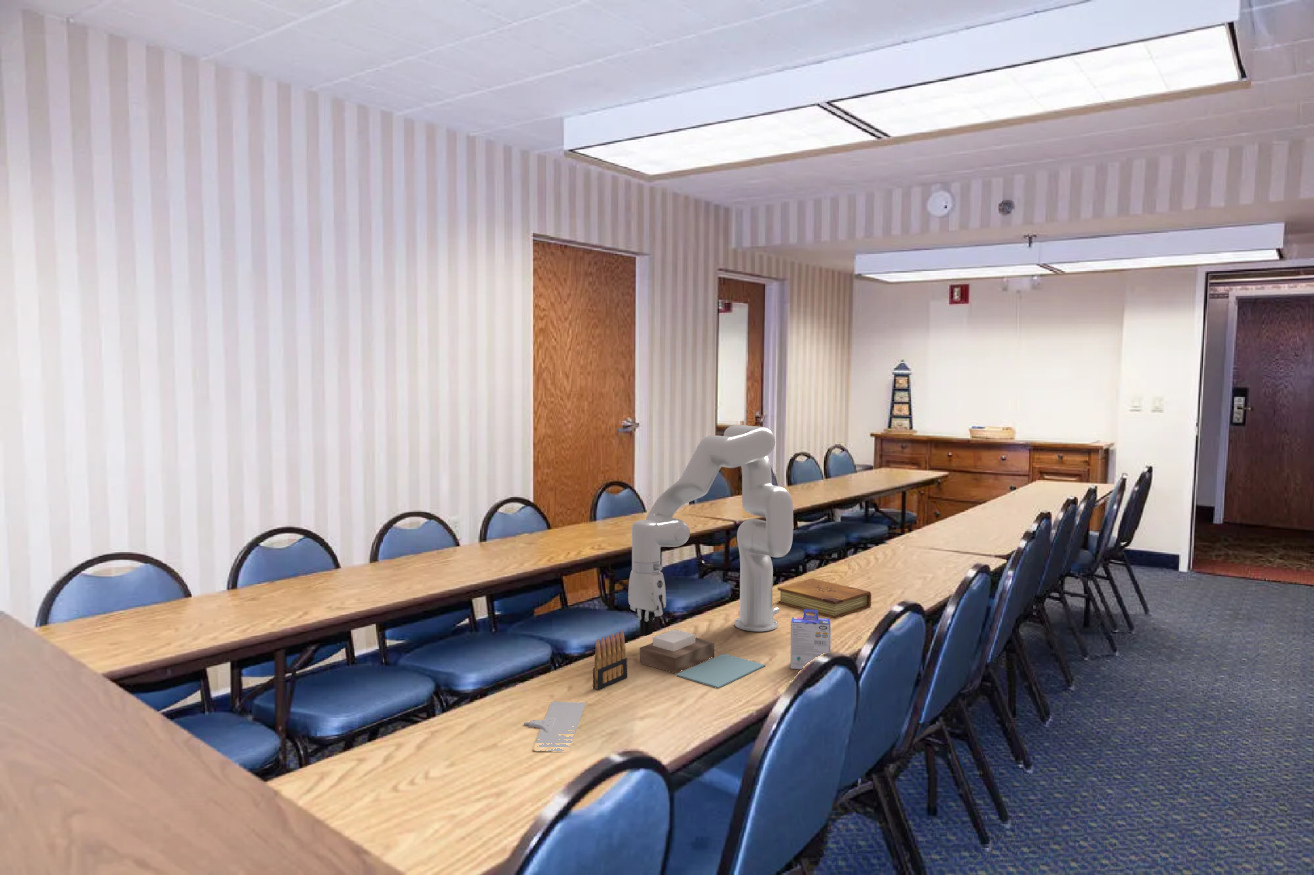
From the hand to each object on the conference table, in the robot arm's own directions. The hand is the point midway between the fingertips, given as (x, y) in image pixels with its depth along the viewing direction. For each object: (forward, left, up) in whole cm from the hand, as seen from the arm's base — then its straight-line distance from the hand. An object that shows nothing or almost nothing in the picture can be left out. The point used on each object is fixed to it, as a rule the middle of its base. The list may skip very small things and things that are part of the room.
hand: (646, 634), depth 225 cm
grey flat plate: (+45, +21, -5) cm, 50 cm away
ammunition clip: (+23, +9, -5) cm, 25 cm away
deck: (0, +11, -5) cm, 12 cm away
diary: (-71, +14, -5) cm, 72 cm away
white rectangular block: (0, +10, 0) cm, 10 cm away
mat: (-1, +24, -5) cm, 25 cm away
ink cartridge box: (-18, +40, -5) cm, 44 cm away
